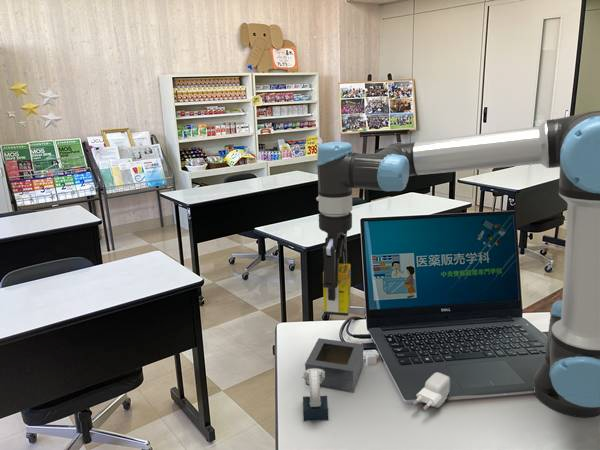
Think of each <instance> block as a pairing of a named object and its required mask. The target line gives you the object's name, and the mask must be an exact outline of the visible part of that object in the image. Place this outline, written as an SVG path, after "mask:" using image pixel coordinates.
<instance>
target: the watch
mask: <svg viewBox="0 0 600 450" xmlns="http://www.w3.org/2000/svg"><path fill="white" fill-rule="evenodd" d="M324 378H325V372H324V371H323V370H321V369H308V370H306V371H305V370H304V371H303V373H302V374H301V379H304V381H305V383H306V382H307V384H309V385H308V386H309V396H308V395H307V396H302V412H303V414H302V415H303V422H313V421H316V422H317V421H329V404H328V395H320V393H321V391H320V388H321V387H320V384H321V383H322V381H323V380H324ZM317 385H318V386H317Z"/></svg>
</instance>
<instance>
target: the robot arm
mask: <svg viewBox="0 0 600 450" xmlns="http://www.w3.org/2000/svg"><path fill="white" fill-rule="evenodd" d="M316 158H317V162H316V167H317V184H318V185H317V186H318V187H317V188H318V190H317V192H318V196H317V197H316V198H315V200H316V201H317V202H318V211H319V213H318V228H319V230H321V231H322V232H325V233H326V237H325V240H324V242H325V243H324V245H323V246H322V254H323V271H324V284H323V283H322V287H323V286H324V288H326V290H327V311H331V312H339V286H338V284H337V281H338V265H339V263H340V264H348V247H347V246H348V245H347V243H348V241H347V236H348V235H347V234H348V232H349V231H350V230H351V229H352V228H353V213H352V210H353V189H360V190H362V189H363V190H372V191H384V192H401V191H404V190H405V189H406V187H407V184H408V182H409V179H410V178H409V177H413V176H421V175H431V174H432V175H434V174H443V173H455V172H464V171H465V172H466V171H475V170H476V171H477V170H478V171H479V170H488V169H495V168H497V169H498V168H508V167H509V168H511V167H519V166H530V165H531V166H532V165H539V164H541V165H542V166H543V167H545V168H547V169H553V168H559V178H558V181H559V182H558V195H559V197H560V198H562V200H564V201H565V202H566V204H567V211H566V228H565V247H564V263H563V264H564V265H563V281H562V298H561V299H559V300H556V301H554V302H553V304H552V305H551V309H550V311H549V315H550V316H549V317H550V318H549V324H548V332H547V338H546V339H547V340H546V347H545V355H544V359H543V361H542V362H541V364H540V365H539V367H538V369H537V370H536V371H535V373H534V377H533V381H532V385H533V384H534V387H535V393H534V395H535V396H536V398H537V399H538V400H539V401H540V402H542V404H544V405H546V406H547V407H549V408H550V409H553V410H554V411H557V412H558V413H562V414H565V415H569V416H573V417H579V418H592V417H597V416H600V110H592V111H588V112H582V113H577V114H574V115H570V116H565V117H560V118H559V117H558V118H555V119H554V118H553V119H546V120H543V122H542V123H541V124H540V125H539V126H531V127H524V128H516V129H509V130H501V131H500V130H499V131H493V132H491V131H490V132H486V133H477V134H469V135H461V136H454V137H452V136H451V137H446V138H445V137H444V138H439V139H430V140H422V141H416V142H407V143H406V142H395V143H394V142H393V143H390V144H389V145H387V146H386V147H385V148H383V149H381V150H379V151H377V152H376V153H359V152H354V151H353V146H352V144H351V143H350V142H347V141H345V142H343V141H329V142H324V143H321V144H320V145H319V146H318V148H317V157H316Z"/></svg>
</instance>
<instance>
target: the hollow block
mask: <svg viewBox="0 0 600 450" xmlns="http://www.w3.org/2000/svg"><path fill="white" fill-rule="evenodd" d="M363 366H364V344H363V343H357V342H349V341H343V340H342V341H341V340H335V339H328V338H321V337H320V338H318V339H317V341H316V342H315V345H314V346H313V349H312V350H311V352H310V354H309V356H308V357H307V360H306V361H305V363H304V369H305V370H304V371H306V370H308V369H321V370H323V371H324V372H325V378H324V380H323V381H322V383H321V384H320V388H324V389H331V390H335V391H342V392H348V393H354V392H355V389H356V387H357V384H358V381H359V378H360V375H361V371H362V369H363ZM305 385H307V386H310V385H309V384H307V382H306V381H305ZM317 386H318V385H317Z"/></svg>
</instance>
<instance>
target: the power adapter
mask: <svg viewBox="0 0 600 450" xmlns="http://www.w3.org/2000/svg"><path fill="white" fill-rule="evenodd" d="M450 390H451V378H450V376H449V375H446V374H443V373H441V372H439V371H437V372H434V373H433V374H431V376H430V377H428V379H427V380H426V381H425V383H424V387H423V388H421V389H420V391H418V392H417V393H416V395H415V396H416V399H415V400H414V401H413V402H412V404H413V405H414V406H416V405H417V404H418V403H419V402H422V403H425V405H424V406H423V408H422V409H423V410H424V411H426V410H427V409H428V408H429V407H434V408H436V409H437V408H440V407H441V406H443V404H444V403H445V402H446V401H445V397H446V396H447V395H448V393H449V392H450ZM449 394H450V393H449Z"/></svg>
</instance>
